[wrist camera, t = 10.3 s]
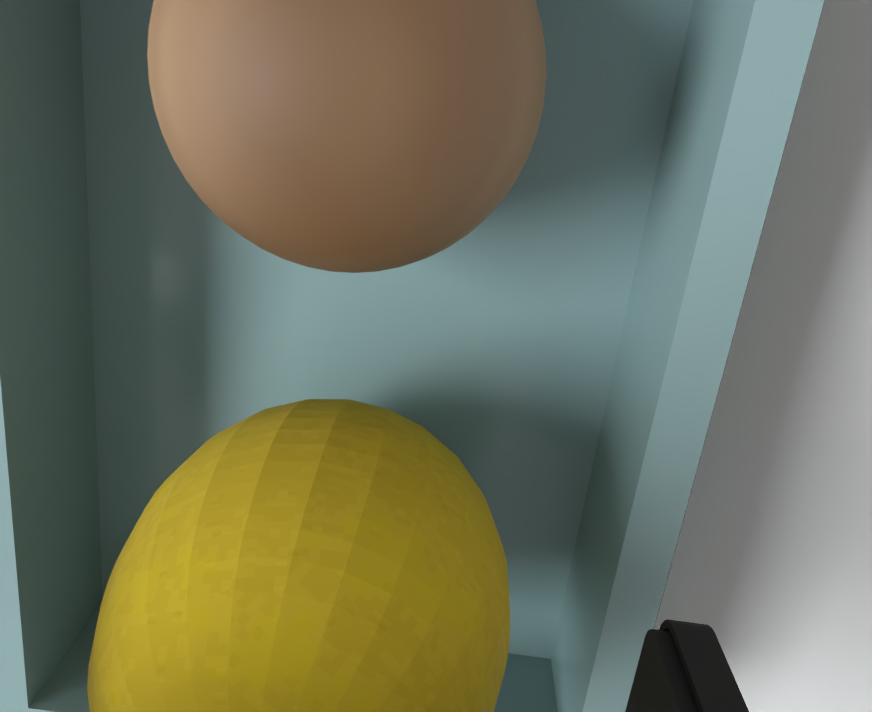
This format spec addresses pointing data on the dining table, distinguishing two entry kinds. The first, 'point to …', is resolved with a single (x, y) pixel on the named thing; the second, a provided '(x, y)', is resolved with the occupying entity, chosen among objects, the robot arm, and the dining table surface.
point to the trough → (389, 322)
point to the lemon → (308, 575)
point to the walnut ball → (349, 118)
